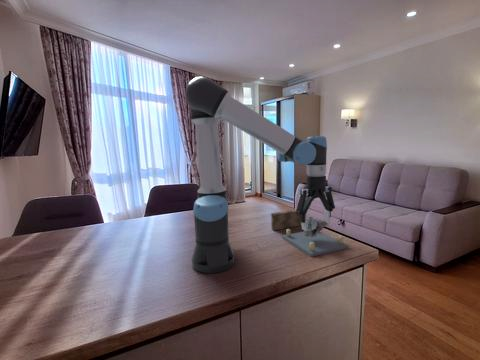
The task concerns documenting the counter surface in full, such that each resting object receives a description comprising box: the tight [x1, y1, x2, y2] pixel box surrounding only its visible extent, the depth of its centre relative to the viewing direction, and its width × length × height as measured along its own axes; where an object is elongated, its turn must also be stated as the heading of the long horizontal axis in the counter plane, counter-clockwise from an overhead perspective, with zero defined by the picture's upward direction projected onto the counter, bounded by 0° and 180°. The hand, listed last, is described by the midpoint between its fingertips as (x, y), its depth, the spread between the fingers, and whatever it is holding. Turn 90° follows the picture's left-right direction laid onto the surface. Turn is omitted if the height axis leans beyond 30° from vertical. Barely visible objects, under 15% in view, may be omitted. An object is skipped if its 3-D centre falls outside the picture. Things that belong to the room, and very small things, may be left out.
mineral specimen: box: [303, 216, 327, 237], centre depth 102 cm, size 10×8×10 cm
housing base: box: [281, 228, 349, 258], centre depth 104 cm, size 18×20×4 cm
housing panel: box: [270, 208, 302, 231], centre depth 121 cm, size 16×3×8 cm, turn 112°
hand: (315, 227), depth 103 cm, fingers closed on mineral specimen, 10 cm apart
